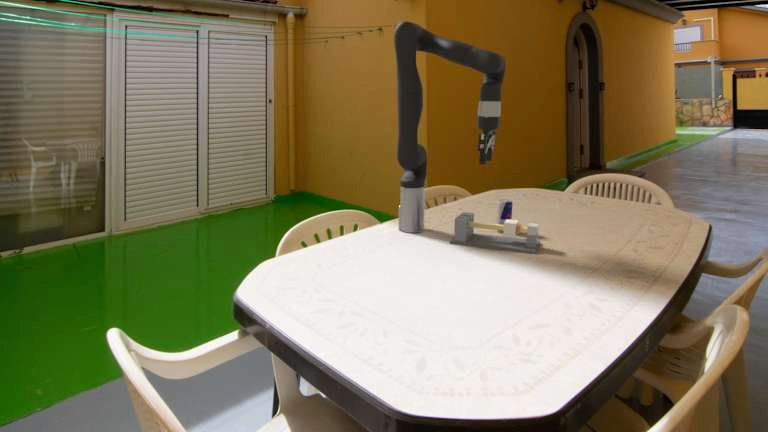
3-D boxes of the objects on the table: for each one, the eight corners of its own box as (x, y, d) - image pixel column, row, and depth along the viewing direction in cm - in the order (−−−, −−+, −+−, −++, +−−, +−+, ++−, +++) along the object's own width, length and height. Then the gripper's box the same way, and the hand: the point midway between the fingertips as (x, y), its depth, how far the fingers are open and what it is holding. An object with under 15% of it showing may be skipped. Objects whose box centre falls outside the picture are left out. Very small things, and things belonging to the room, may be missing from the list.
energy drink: (511, 233, 171) (513, 202, 168) (496, 233, 172) (498, 202, 169) (510, 229, 176) (512, 199, 173) (496, 229, 177) (497, 199, 174)
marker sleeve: (503, 236, 156) (503, 222, 154) (506, 232, 160) (506, 219, 159) (515, 238, 154) (516, 223, 153) (517, 234, 158) (518, 220, 157)
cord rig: (454, 240, 161) (454, 218, 159) (462, 232, 170) (463, 211, 168) (534, 250, 149) (535, 226, 147) (538, 240, 159) (540, 218, 157)
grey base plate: (449, 243, 161) (449, 240, 161) (459, 234, 172) (459, 231, 171) (535, 253, 149) (535, 251, 149) (540, 243, 159) (540, 240, 159)
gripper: (483, 113, 163) (479, 159, 167) (472, 115, 150) (469, 164, 155) (504, 114, 160) (500, 160, 164) (495, 116, 147) (491, 166, 152)
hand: (485, 162), depth 159 cm, fingers open, 8 cm apart
